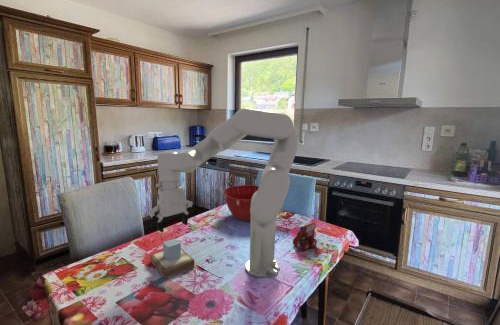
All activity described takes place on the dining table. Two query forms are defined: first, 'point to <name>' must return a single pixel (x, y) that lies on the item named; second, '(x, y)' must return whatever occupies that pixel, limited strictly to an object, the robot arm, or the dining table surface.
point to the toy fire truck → (305, 237)
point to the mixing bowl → (240, 200)
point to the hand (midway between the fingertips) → (173, 227)
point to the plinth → (171, 264)
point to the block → (171, 250)
